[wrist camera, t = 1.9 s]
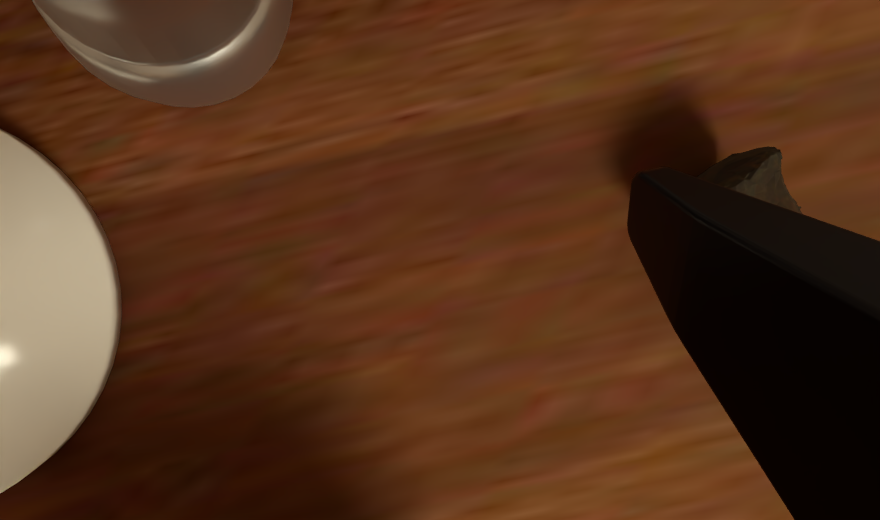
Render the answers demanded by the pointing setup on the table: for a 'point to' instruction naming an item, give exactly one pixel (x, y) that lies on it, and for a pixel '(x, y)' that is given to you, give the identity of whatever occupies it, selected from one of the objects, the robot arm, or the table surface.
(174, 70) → the plastic bottle
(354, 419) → the table surface
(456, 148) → the table surface
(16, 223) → the saucer
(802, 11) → the table surface
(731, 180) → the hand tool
